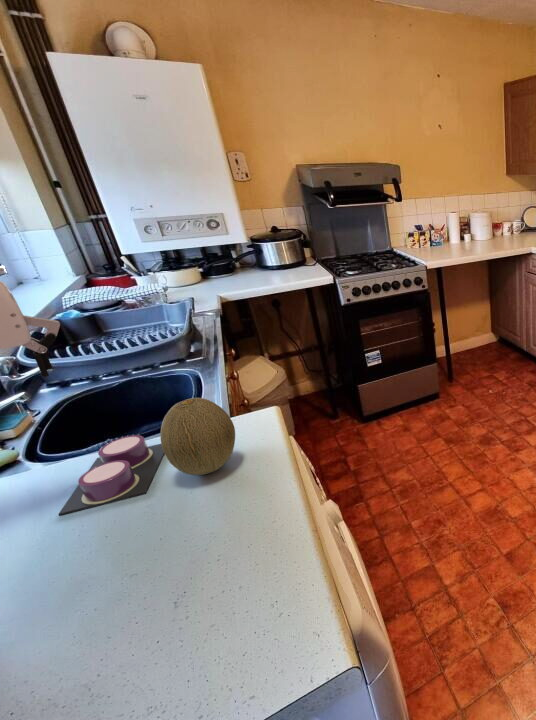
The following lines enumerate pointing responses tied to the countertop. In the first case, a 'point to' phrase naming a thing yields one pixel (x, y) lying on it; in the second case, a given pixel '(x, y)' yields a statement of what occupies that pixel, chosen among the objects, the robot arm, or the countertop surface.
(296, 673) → the countertop surface
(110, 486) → the dish
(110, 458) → the dish
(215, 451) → the fruit
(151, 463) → the mat
